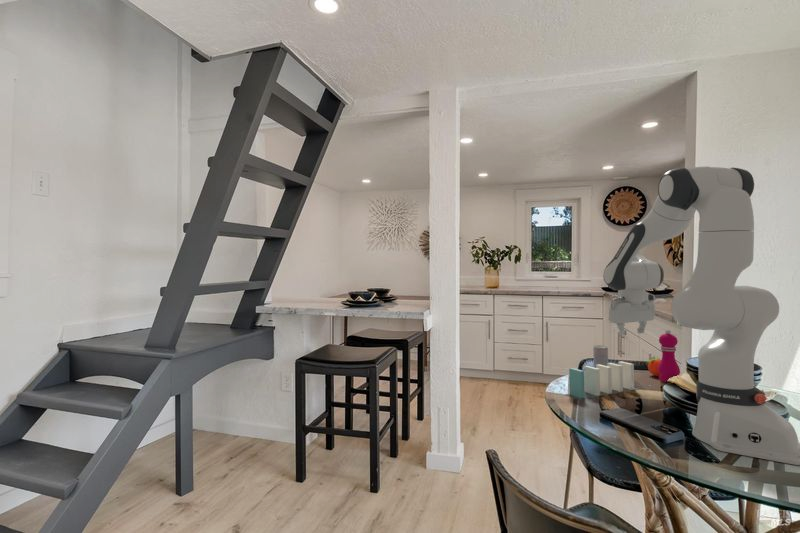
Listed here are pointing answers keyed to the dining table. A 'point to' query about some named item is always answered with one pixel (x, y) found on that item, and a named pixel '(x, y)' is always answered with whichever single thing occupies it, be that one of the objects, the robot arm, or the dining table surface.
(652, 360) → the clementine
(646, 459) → the dining table surface
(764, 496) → the dining table surface
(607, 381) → the domino
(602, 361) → the energy drink
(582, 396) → the domino
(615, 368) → the domino
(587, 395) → the mat
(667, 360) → the pepper mill
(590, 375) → the domino
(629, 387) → the domino
